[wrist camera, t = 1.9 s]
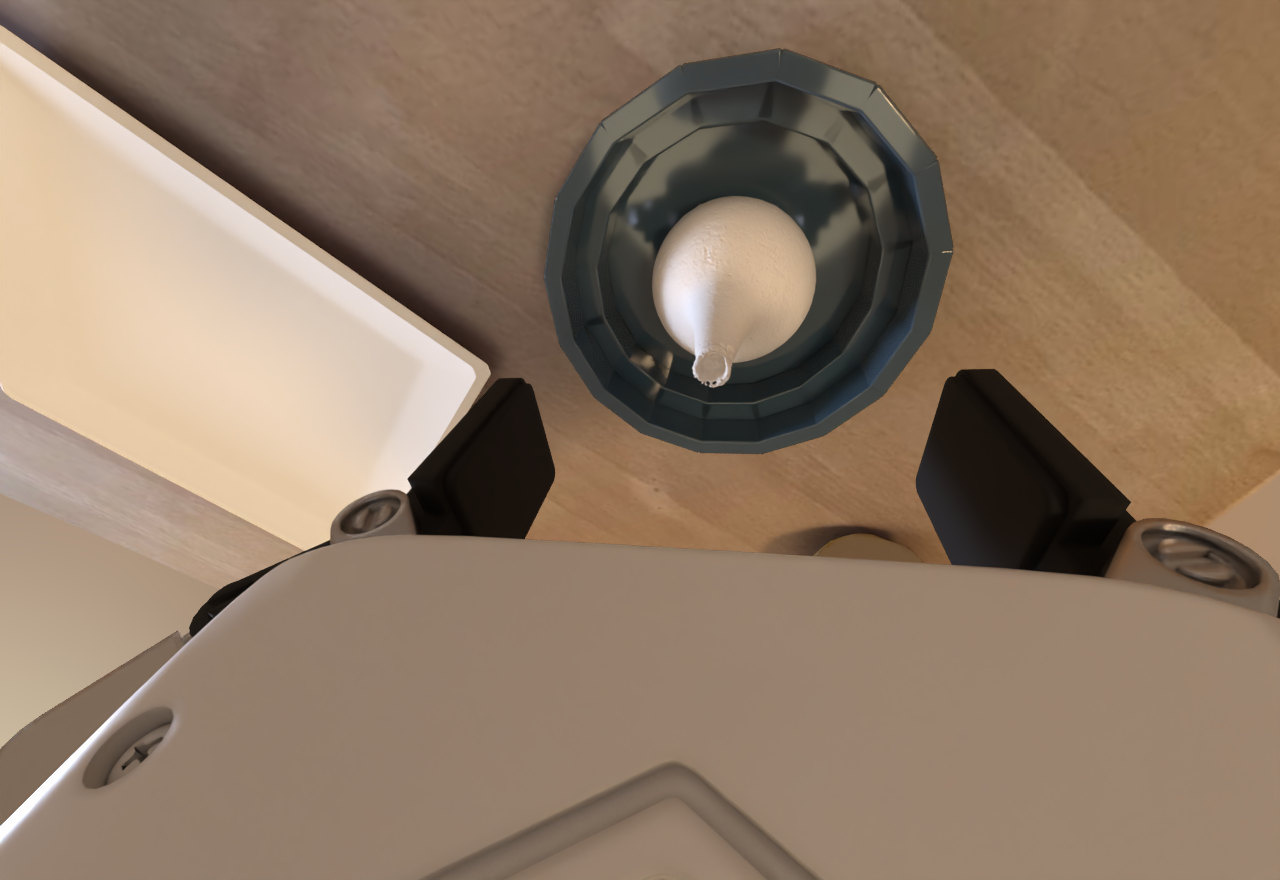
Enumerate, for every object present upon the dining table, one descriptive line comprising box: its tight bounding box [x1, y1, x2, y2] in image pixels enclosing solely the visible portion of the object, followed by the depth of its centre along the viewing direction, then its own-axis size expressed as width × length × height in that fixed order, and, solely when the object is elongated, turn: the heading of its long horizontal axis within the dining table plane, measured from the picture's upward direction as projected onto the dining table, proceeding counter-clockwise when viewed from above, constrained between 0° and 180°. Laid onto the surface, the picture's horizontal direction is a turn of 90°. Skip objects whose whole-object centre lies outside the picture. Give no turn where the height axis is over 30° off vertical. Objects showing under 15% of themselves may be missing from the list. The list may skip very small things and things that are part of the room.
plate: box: [0, 25, 491, 551], centre depth 27 cm, size 26×26×2 cm
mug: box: [813, 533, 924, 563], centre depth 27 cm, size 8×10×10 cm
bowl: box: [544, 48, 953, 454], centre depth 18 cm, size 14×14×4 cm
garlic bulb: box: [652, 196, 816, 388], centre depth 16 cm, size 6×6×8 cm
